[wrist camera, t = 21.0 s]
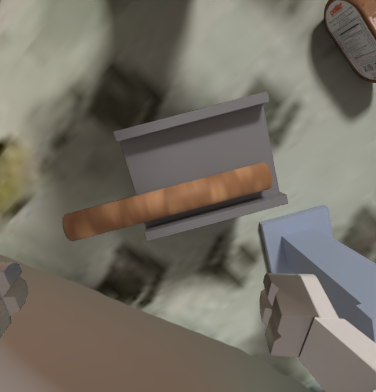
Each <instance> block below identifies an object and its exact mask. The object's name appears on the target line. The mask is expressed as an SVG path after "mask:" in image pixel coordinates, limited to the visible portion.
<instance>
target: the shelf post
mask: <svg viewBox="0 0 376 392" xmlns="http://www.w3.org/2000/svg"><path fill="white" fill-rule="evenodd" d="M259 223H260V228H261V233H262V237H263V242H264V247H265V252H266V256H267V261H268V266H269V271H270V273H283V274H314V275H315V276H316V277H317V279H318V280H319V282H320V284H321V286H322V288H323V290H324V291H325V293H326V295H327V297H328V299H329V301H330V303H331V304H332V306H333V308H334V310H335V312H336V314H337V316H338V317H339V319H345V320H346V321H348V322H349V323H350V324H352V325H353V326H354V327H355V328H357V329H358V330H359V331H361V332H362V333H363V334H364V335H366V336H367V337H368V338H369V339H371V340H372V341H373V342H375V343H376V264H375V263H374V262H372V261H370V260H369V259H367V258H365V257H363V256H362V255H360V254H358V253H357V252H355V251H353V250H352V249H350V248H348V247H347V246H345V245H343V244H341V243H340V242H338V241H336V240H335V239H333V237H332V230H331V224H330V217H329V210H328V207H326V206H324V205H322V206H319V207H315V208H311V209H308V210H304V211H300V212H296V213H293V214H289V215H285V216H281V217H278V218H274V219H270V220H266V221H263V222H259Z"/></svg>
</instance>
